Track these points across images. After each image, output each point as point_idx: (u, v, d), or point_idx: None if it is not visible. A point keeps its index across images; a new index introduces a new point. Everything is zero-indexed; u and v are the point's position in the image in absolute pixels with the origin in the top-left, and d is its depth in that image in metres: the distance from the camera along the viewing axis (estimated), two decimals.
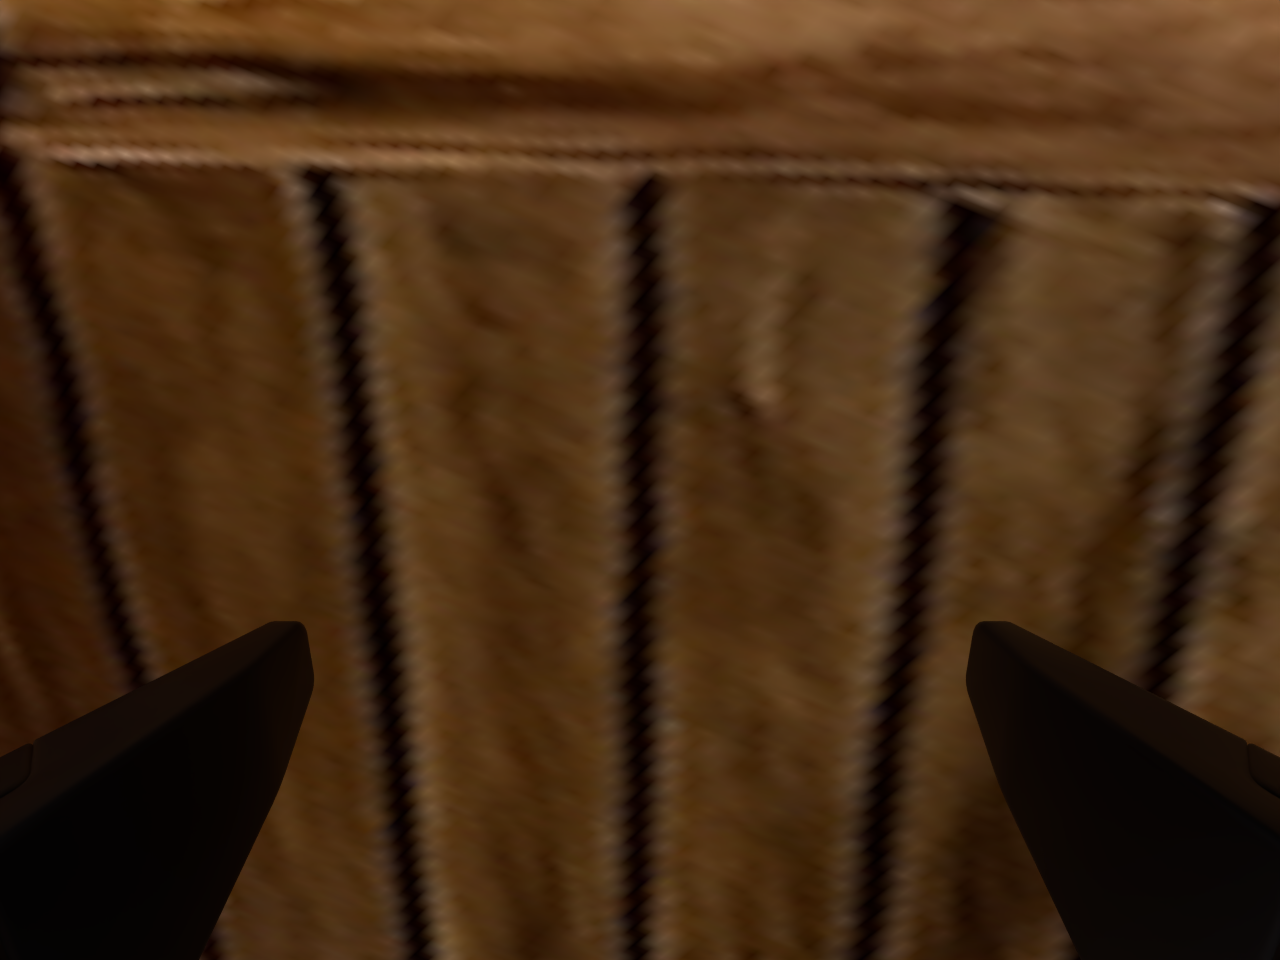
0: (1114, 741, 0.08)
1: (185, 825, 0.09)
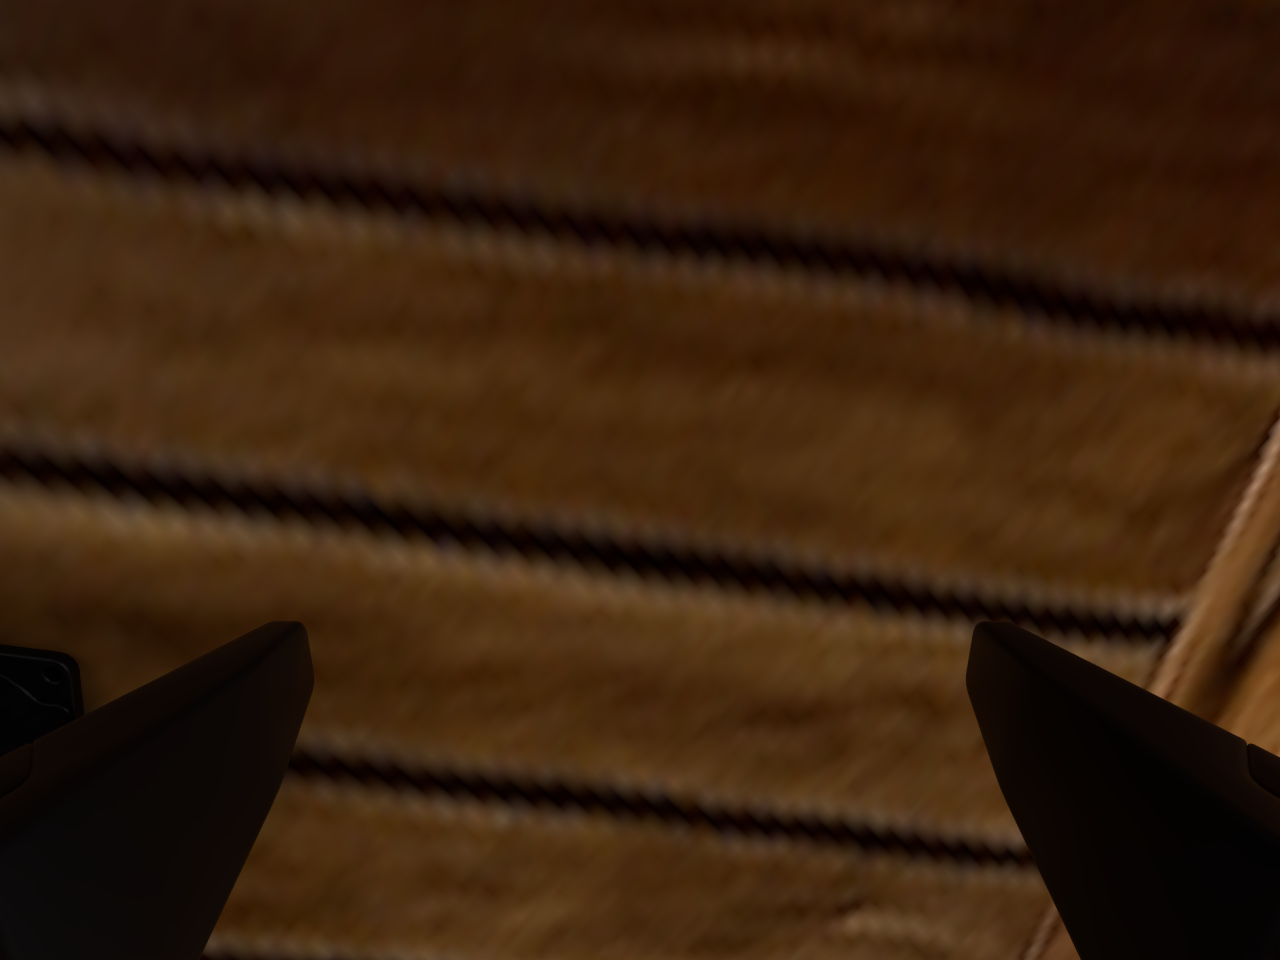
0: (1114, 741, 0.08)
1: (185, 825, 0.09)
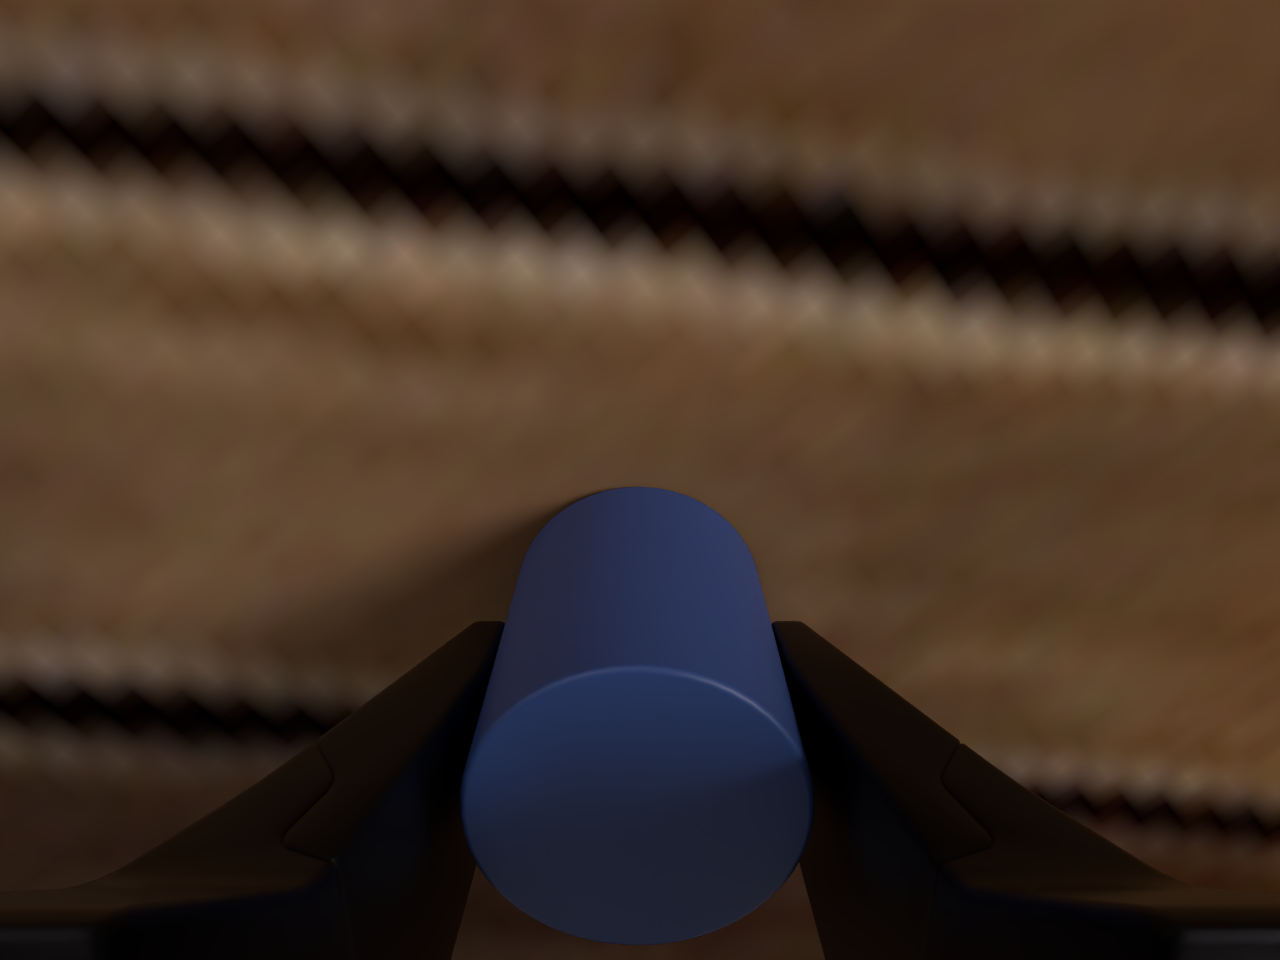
0: (836, 741, 0.08)
1: (446, 825, 0.09)
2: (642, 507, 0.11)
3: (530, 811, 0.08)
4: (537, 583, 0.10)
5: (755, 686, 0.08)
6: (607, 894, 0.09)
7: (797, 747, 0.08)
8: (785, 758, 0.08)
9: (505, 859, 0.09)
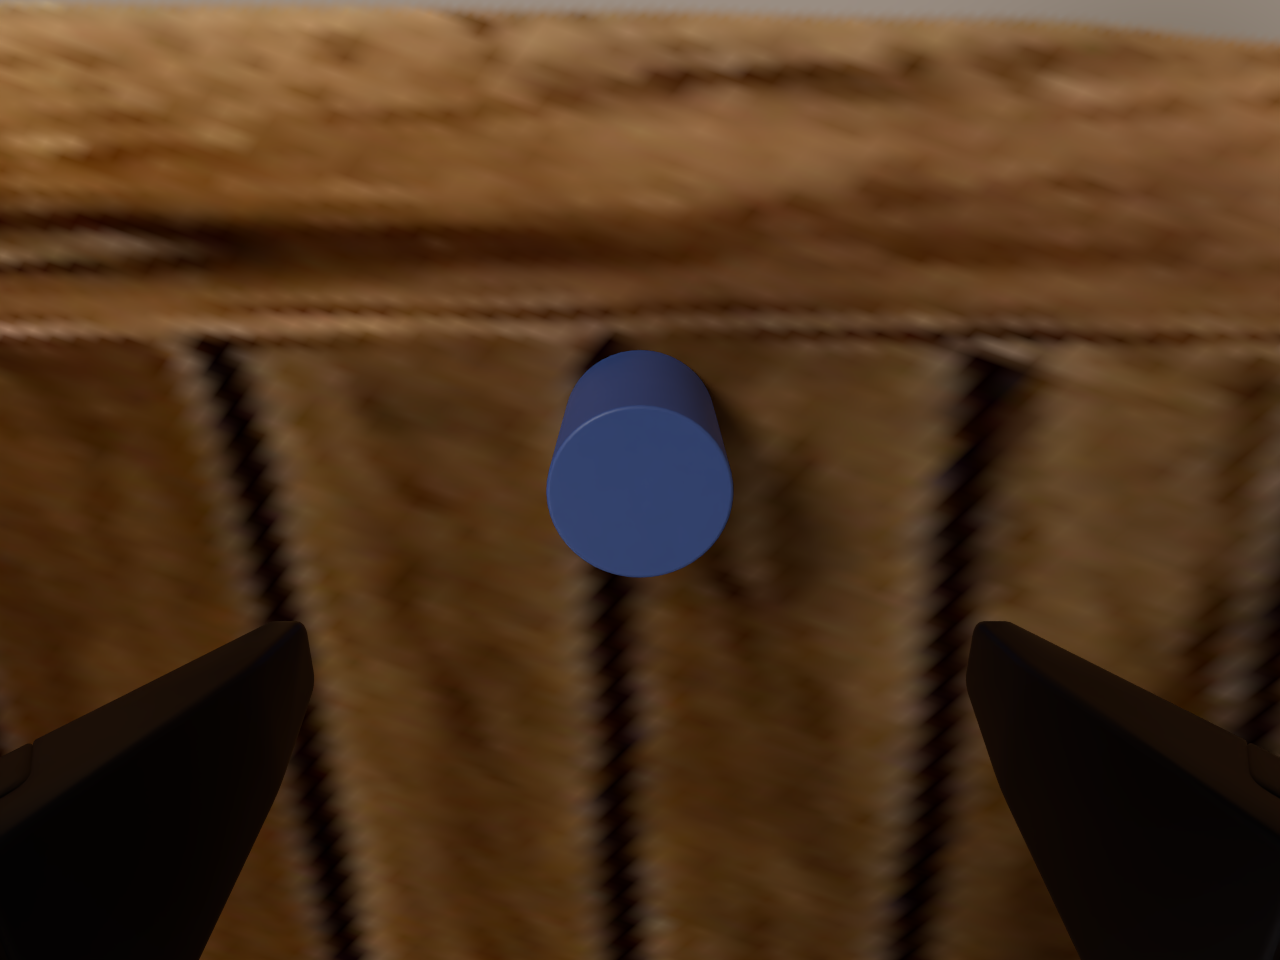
0: (1114, 741, 0.08)
1: (185, 825, 0.09)
2: (642, 357, 0.19)
3: (584, 491, 0.16)
4: (582, 394, 0.18)
5: (701, 422, 0.16)
6: (624, 543, 0.16)
7: (722, 452, 0.16)
8: (716, 458, 0.16)
9: (570, 521, 0.16)
